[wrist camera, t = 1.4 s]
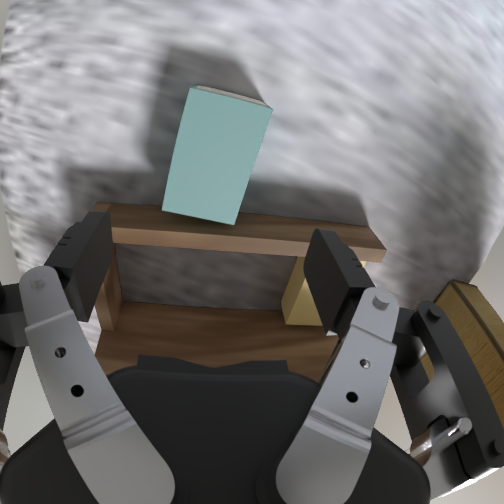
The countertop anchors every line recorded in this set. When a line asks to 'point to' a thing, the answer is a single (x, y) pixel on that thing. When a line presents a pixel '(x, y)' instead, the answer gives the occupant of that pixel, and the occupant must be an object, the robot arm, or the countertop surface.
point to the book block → (214, 153)
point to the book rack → (214, 319)
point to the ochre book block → (300, 299)
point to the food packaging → (476, 336)
